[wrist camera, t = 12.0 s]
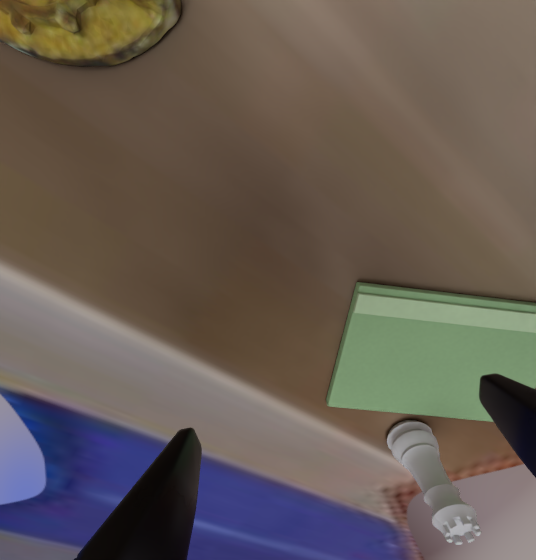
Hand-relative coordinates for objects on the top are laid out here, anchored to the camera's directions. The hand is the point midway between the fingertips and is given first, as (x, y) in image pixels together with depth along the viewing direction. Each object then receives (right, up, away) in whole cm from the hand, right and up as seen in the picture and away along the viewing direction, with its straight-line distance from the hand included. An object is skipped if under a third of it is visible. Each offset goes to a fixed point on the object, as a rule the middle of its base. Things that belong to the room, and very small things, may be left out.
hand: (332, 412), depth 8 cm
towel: (+13, -3, +15) cm, 20 cm away
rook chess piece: (+12, -11, +18) cm, 25 cm away
